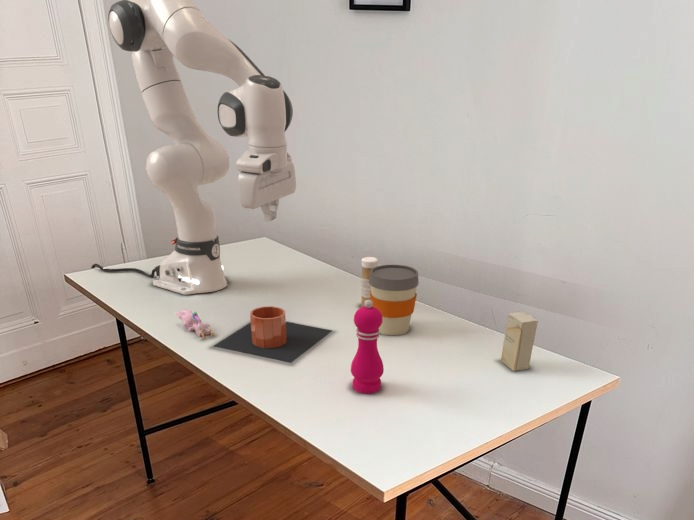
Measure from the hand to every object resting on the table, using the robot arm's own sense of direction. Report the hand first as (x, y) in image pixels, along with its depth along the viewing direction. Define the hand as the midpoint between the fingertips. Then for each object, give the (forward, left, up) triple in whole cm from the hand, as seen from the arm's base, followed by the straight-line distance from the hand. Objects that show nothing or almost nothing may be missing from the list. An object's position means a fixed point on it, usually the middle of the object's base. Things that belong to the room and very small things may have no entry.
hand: (270, 219), depth 166 cm
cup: (+4, -6, -23) cm, 24 cm away
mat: (+4, -8, -27) cm, 29 cm away
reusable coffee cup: (+28, +12, -27) cm, 41 cm away
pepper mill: (+36, -22, -27) cm, 50 cm away
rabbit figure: (-18, -12, -27) cm, 35 cm away
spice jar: (+16, +24, -27) cm, 40 cm away
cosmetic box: (+63, +4, -27) cm, 69 cm away
